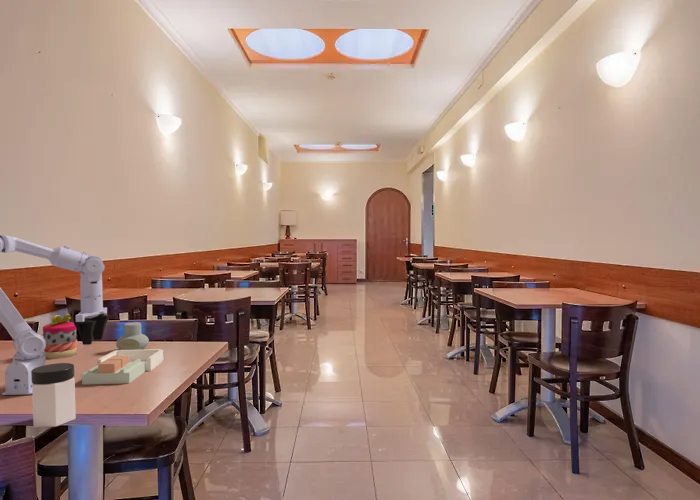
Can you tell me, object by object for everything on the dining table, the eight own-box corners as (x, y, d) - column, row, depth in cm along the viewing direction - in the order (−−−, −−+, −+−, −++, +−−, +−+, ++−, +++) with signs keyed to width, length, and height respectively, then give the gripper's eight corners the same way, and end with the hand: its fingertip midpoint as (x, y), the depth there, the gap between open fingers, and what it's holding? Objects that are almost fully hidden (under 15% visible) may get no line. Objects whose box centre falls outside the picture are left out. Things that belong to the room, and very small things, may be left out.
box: (150, 371, 143) (150, 358, 143) (97, 372, 142) (97, 359, 142) (164, 360, 155) (164, 349, 155) (115, 362, 154) (115, 350, 154)
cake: (35, 358, 160) (34, 315, 160) (61, 351, 170) (60, 310, 170) (60, 359, 158) (59, 316, 157) (84, 352, 168) (83, 311, 168)
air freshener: (113, 353, 165) (112, 326, 165) (121, 348, 174) (120, 322, 173) (144, 352, 167) (144, 325, 167) (151, 347, 175) (151, 321, 175)
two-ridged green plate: (129, 383, 131) (129, 369, 131) (82, 384, 130) (81, 370, 130) (145, 371, 143) (145, 358, 142) (102, 372, 142) (102, 359, 142)
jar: (84, 412, 108) (82, 362, 108) (66, 426, 100) (64, 371, 100) (43, 414, 108) (42, 363, 107) (22, 428, 99) (20, 373, 99)
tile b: (122, 367, 136) (122, 359, 136) (106, 368, 136) (106, 359, 136) (128, 363, 140) (128, 355, 140) (113, 364, 140) (113, 355, 140)
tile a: (114, 372, 131) (114, 363, 131) (98, 373, 131) (98, 364, 131) (121, 368, 135) (121, 359, 135) (105, 368, 135) (105, 360, 135)
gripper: (93, 299, 130) (94, 347, 130) (116, 293, 144) (117, 336, 145) (67, 299, 129) (68, 347, 130) (93, 293, 144) (94, 337, 144)
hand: (92, 341), depth 137 cm, fingers open, 6 cm apart
